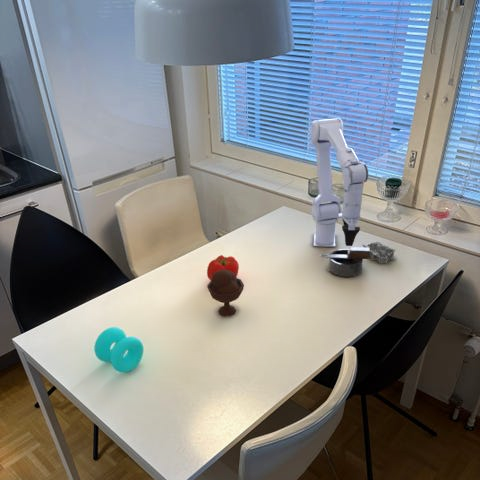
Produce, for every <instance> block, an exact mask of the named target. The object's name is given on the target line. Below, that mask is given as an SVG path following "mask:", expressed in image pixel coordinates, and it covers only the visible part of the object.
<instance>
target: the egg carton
mask: <svg viewBox="0 0 480 480" xmlns="http://www.w3.org/2000/svg"><path fill="white" fill-rule="evenodd" d="M361 247H364V248H370V254H369V258H370V260H372V261H378V263H379V264H387V263H388V261H393V260H394V255H395V253H396V251H397V249H395V248H391V247H390V246H388V245H385V244H382V242H380V241H374V242H370V243H368V244H367V245H366V244H362V246H361Z"/></svg>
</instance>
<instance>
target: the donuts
mask: <svg viewBox="0 0 480 480" xmlns="http://www.w3.org/2000/svg"><path fill="white" fill-rule="evenodd" d="M113 344H114V345H113ZM112 345H113V346H112ZM111 347H112V348H111ZM93 348H94V350H93V351H94V354H95V356H96V358H97V359H98V360H99V361H101V362H104V363H111V365H112V368H113V369H114V370H115V371H116V372H119V373H128V372H131V371H133V370H134V369H135V368H136V367H137V366H138V365H139V364H140V363H141V361H142V358H143V355H144V345H143V342H142V341H141V340H140V339H139V338H137V337H135V336H127V335H126V333H125V331H124V330H123V329H121V328H120V327H116V326H112V327H108V328H106V329H104V330H103V331H102V332H100V334H99V335H98V336H97V338H96V340H95V343H94V347H93Z"/></svg>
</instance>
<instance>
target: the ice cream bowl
mask: <svg viewBox="0 0 480 480" xmlns="http://www.w3.org/2000/svg"><path fill="white" fill-rule="evenodd" d="M237 277H238V276H237ZM237 277H236V274H234V273H233V272H231V271H228V270H219V271H217V272H215V273H214V274H213V276H212V279H211V280H210V281H209V283H208V284H207V286H206V287H207V290H208V292H209V294H210V296H211V298H212V299H213V300H215V301H216V302H220V303H222V304H223V305H222V306H220V307H219V308H218V314H219V315H220V316H223V317H231V316H234V315H235V314H236V312H237V309H236V307H235V306H233V305H231V304H230V303H233V302H234V301H236V300H238V299H239V298H240V297H241V295H242V293H243V291H244V288H245V284H244V282H243V281H242V279H240V278H237Z"/></svg>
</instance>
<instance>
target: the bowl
mask: <svg viewBox="0 0 480 480" xmlns="http://www.w3.org/2000/svg"><path fill="white" fill-rule="evenodd" d="M349 250H350V248H340V249H336V250H333V251H332V252H330V254H342V255H347V252H348V251H349ZM363 261H364V259H347V258H328V270H329V272H331V274H333V275H335V276H338V277H344V278H345V277H347V278H349V277H355V276H358V275H359V274H361V272H362V271H363V270H362V269H363Z"/></svg>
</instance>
